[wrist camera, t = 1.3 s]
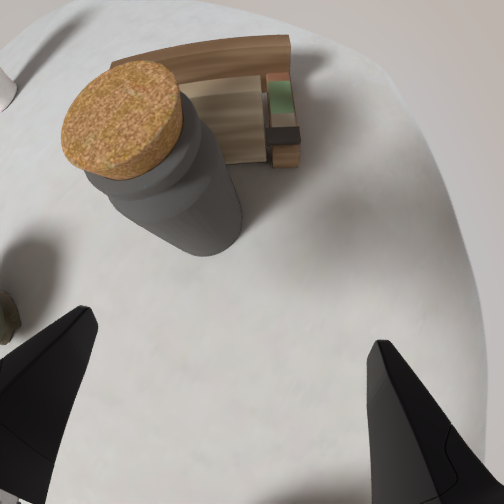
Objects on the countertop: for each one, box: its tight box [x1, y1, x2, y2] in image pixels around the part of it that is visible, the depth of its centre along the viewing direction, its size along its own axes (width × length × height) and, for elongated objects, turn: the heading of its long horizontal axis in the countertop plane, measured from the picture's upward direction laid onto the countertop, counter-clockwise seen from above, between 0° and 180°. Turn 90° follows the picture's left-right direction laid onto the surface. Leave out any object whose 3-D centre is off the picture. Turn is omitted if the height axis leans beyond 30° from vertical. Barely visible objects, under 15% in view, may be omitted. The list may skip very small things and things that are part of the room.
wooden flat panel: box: [179, 75, 301, 164], centre depth 19 cm, size 1×15×9 cm, turn 93°
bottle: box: [61, 60, 242, 256], centre depth 16 cm, size 6×6×15 cm
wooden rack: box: [110, 35, 300, 168], centre depth 22 cm, size 10×15×6 cm, turn 92°
